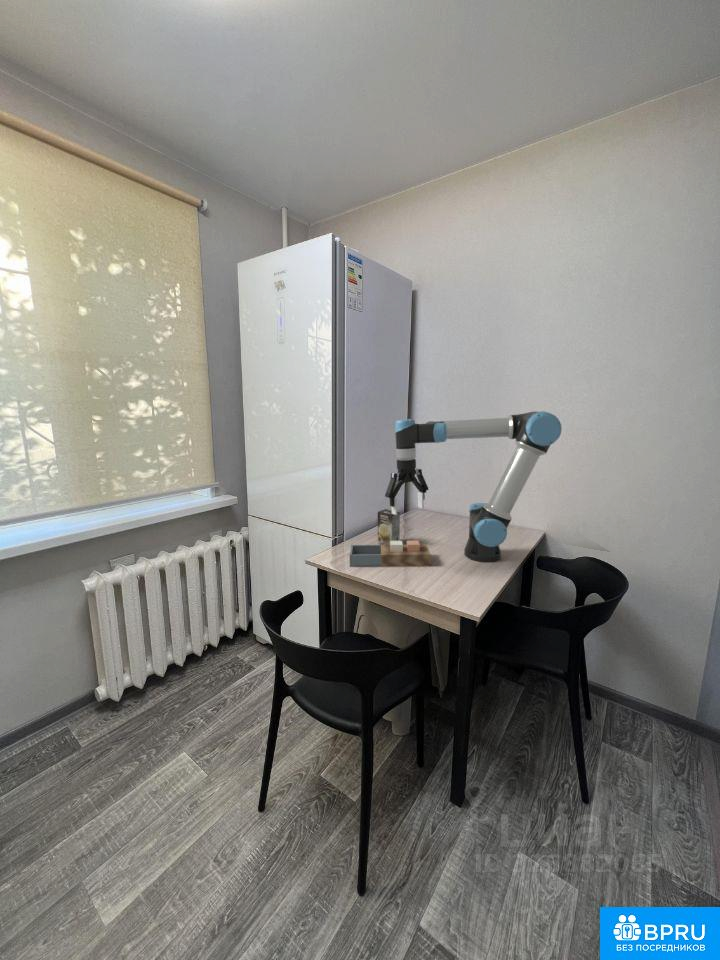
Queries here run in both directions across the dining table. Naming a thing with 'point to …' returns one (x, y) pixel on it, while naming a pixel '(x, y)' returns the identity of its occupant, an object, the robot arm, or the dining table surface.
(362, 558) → the box
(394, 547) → the tile cream
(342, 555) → the dining table surface
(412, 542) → the tile terracotta
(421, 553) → the wooden tile board
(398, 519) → the coffee box
